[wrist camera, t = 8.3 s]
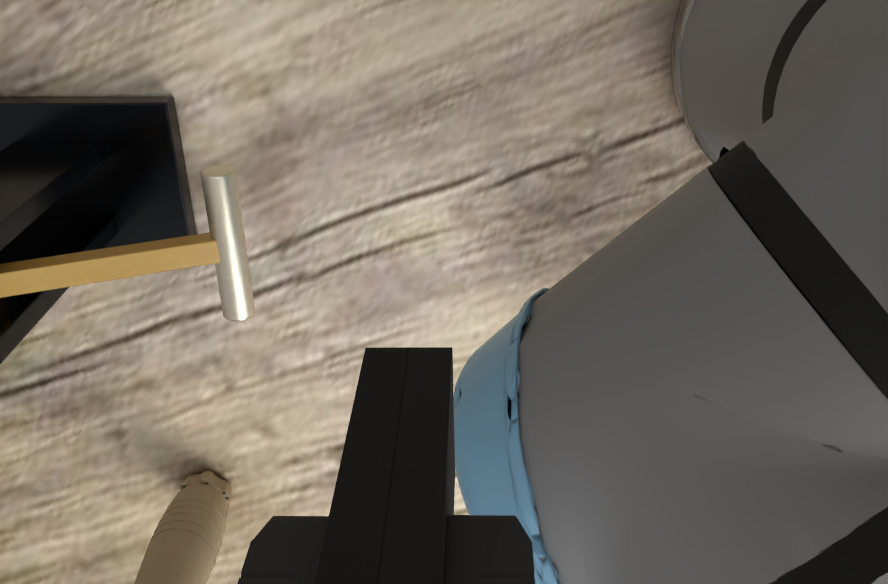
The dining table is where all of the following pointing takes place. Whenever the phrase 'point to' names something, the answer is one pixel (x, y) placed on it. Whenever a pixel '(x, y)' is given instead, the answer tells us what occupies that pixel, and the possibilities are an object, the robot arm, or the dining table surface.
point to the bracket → (84, 185)
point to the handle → (188, 533)
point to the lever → (157, 254)
